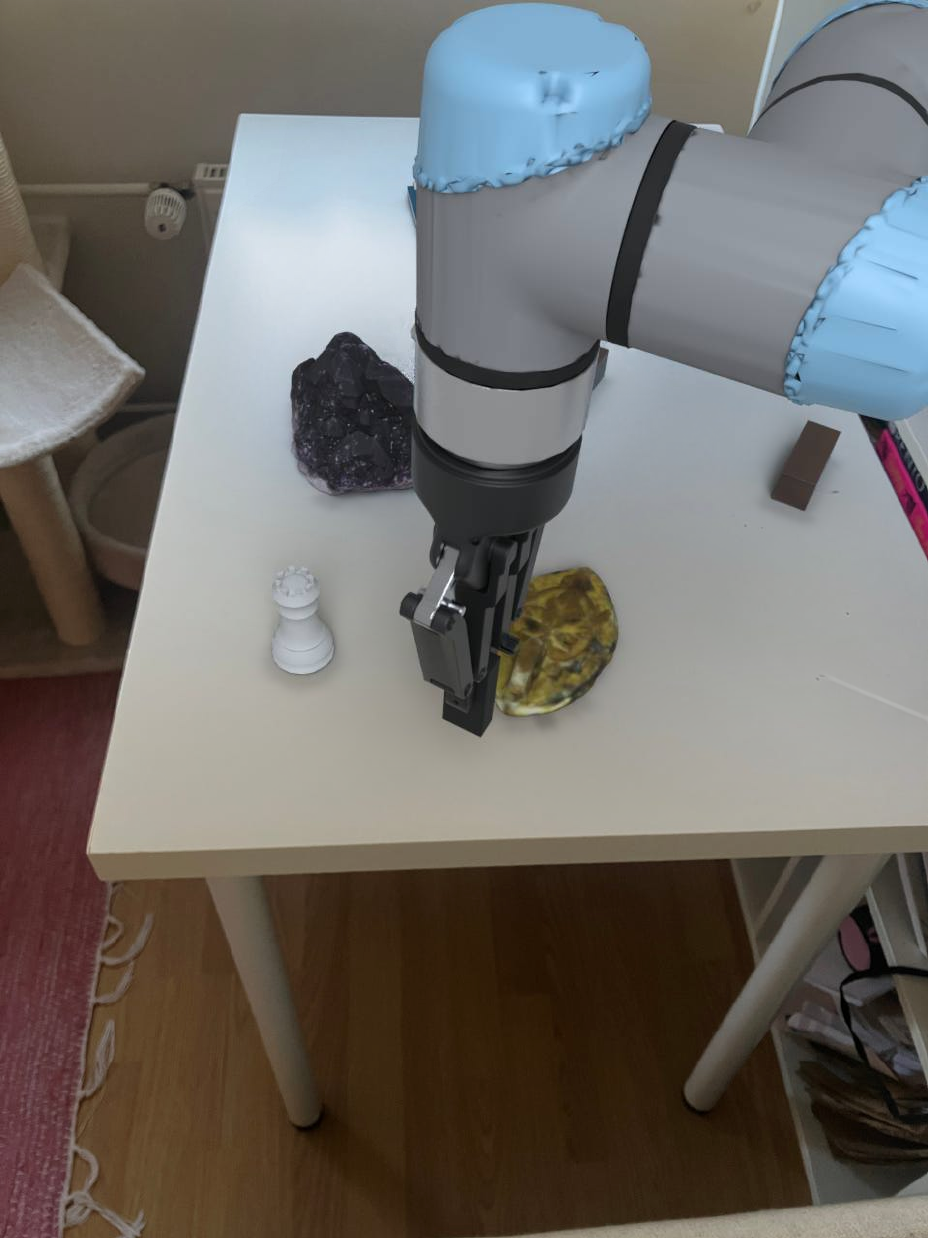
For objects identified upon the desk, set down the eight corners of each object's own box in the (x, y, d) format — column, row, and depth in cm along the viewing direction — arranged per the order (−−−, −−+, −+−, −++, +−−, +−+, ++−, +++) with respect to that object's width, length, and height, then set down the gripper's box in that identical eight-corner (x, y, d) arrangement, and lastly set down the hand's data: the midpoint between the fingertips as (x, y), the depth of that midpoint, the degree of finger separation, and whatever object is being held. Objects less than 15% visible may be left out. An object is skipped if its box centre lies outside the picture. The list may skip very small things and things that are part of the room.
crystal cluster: (424, 523, 83) (440, 424, 75) (263, 489, 83) (264, 387, 75) (450, 430, 92) (466, 334, 85) (305, 399, 92) (309, 301, 85)
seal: (527, 566, 81) (452, 704, 71) (526, 522, 77) (448, 661, 68) (640, 595, 78) (577, 742, 69) (644, 550, 74) (579, 700, 65)
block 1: (604, 376, 95) (609, 349, 93) (569, 422, 91) (573, 395, 88) (575, 365, 96) (580, 339, 94) (539, 411, 92) (542, 384, 89)
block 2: (830, 457, 89) (841, 431, 87) (804, 511, 85) (816, 485, 82) (797, 445, 90) (808, 419, 88) (770, 498, 86) (780, 472, 83)
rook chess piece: (271, 679, 71) (258, 606, 65) (273, 630, 74) (261, 555, 68) (334, 677, 71) (328, 604, 65) (334, 628, 74) (328, 554, 68)
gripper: (491, 316, 48) (464, 624, 67) (343, 471, 41) (358, 771, 59) (635, 368, 46) (566, 671, 65) (506, 542, 39) (470, 830, 57)
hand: (467, 719), depth 62 cm, fingers closed
